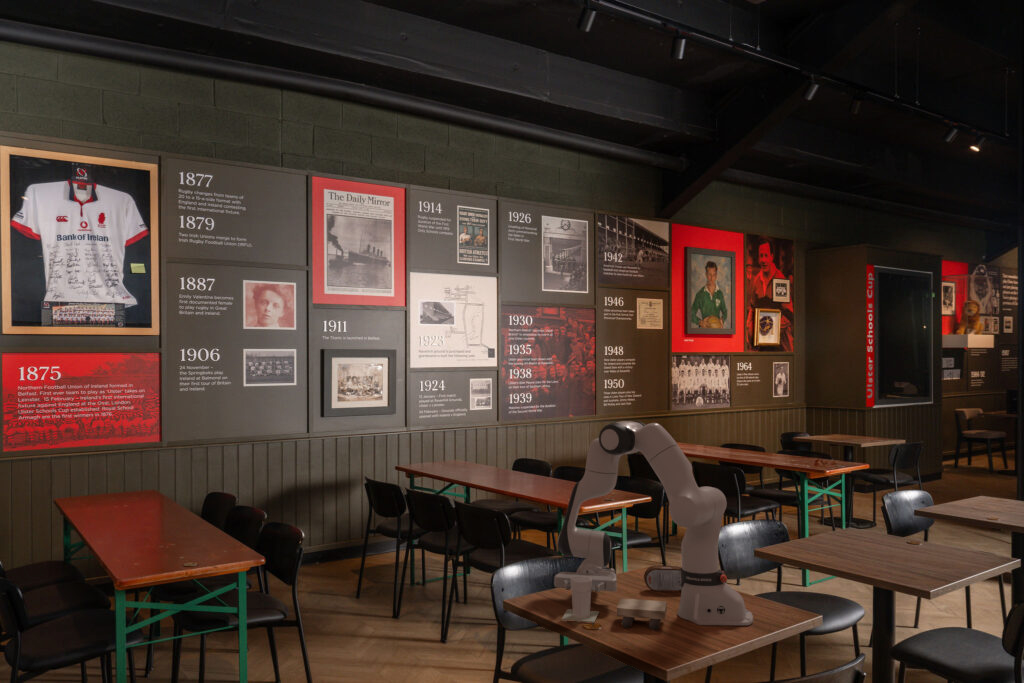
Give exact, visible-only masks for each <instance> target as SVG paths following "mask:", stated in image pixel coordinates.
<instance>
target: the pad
mask: <svg viewBox="0 0 1024 683" xmlns="http://www.w3.org/2000/svg"><path fill="white" fill-rule="evenodd" d="M598 614H599V615H600V611H598V610H597V611H596V610H590V616H589V617H586V618H578V617H575V616H573V608H572V609H571V608H570V609H569V608H567V609H566V611H565V612H564V614H563V616H562V618H561V620H562V619H563V620H574V621H582V622H592V623H591V624H593V623H594V622H595V623H596V621H597V619H596V618H598V617H599V615H598ZM597 616H598V617H597ZM595 620H596V621H595ZM595 623H594V624H595Z"/></svg>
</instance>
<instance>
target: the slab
mask: <svg viewBox="0 0 1024 683" xmlns="http://www.w3.org/2000/svg"><path fill="white" fill-rule="evenodd" d="M667 604H668V602H667V601H664V600H651V599H649V600H648V599H635V598H623V597H622V598H620V599H619V602H618V604H617V607H616V617H621V618H622V620H621V625H622V628H625V629H630V628H631V627H632V625H633V622H634V620H635V618H637V619H638V618H639V619H649V623H648V625H649V626H648V627H649V628H650V630H652V631H658V630H659V629H660V625H661V620H663V621H664V620H666V615H667V610H668V607H667Z"/></svg>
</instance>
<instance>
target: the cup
mask: <svg viewBox="0 0 1024 683" xmlns="http://www.w3.org/2000/svg"><path fill="white" fill-rule="evenodd" d="M570 582H571V589H570V591H571V602H572V603H571V604H572V610H573V616H575V617H578V618H586V617H589V616H590V611H591V597H592V591H591V586H592V579H591V578H589V577H583V576H577V577H572V578H571V579H570Z"/></svg>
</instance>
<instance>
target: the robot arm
mask: <svg viewBox="0 0 1024 683" xmlns="http://www.w3.org/2000/svg"><path fill="white" fill-rule="evenodd" d="M635 453H641V454H642V455H643V456H644V458H645V459H646V461H647V462H648V464H649V466H650V467H651V468H652V470H653V472H654V473H655V475H656V476H657V477H658V479H659V481H660V482H661V485H662V486H663V489H664V491H665V493H666V497H667V500H668V504H669V506H668V511H669V516H670V518H671V520H672V521H673V522H674V524H675V525H678V526H679V527H682V528H686V531H685V533H684V536H683V538H682V541H681V544H680V545H681V546H680V548H681V572H680V584H681V587H682V589H681V591H680V600H679V606H678V609H677V616H679V617H680V618H682V619H684V620H686V621H689V622H692V623H694V624H696V625H698V626H699V625H700V626H750V625H751V624H753V622H754V616H753V612H751V611H750V610H749V609H746V605H745V600H744V598H743V596H742V595H741V594H740V593H739V592H738V591H737V590H735V589H734V588H733V587H731V586H730V585H729V584H728V583H726V582H727V581H728V577H727V575H726V573H725V571H724V570H721V569H719V541H720V534H721V528H722V524H723V523H722V522H723V518H724V514H725V511H726V510H727V504H728V502H727V498H726V495H725V494H724V493H723V491H722V490H720V489H719V488H717V487H712V486H700V487H699V486H698V484H697V482H696V479H695V477H694V474H693V466H692V464H691V462H690V460H689V459H688V458H687V455H685V454H684V452H683V450H682V449H681V447H680V446H679V445H678V443H677V441H676V440H675V439H674V438H673V437H672V435H671V434H670V433H669V432H668V431H667V430H666V429H665V427H663V426H662V425H661V424H659V423H657V422H651V423H647V424H645V423H643V422H642V421H638V420H631V421H630V420H629V421H628V420H622V421H617V422H610V423H609V424H606V425H605V426H604V427H602V429H600V432H599V434H598V437H597V438H594V439H593V440H592V441H591V442H590V444H589V449H588V452H587V454H586V455H587V456H586V461H585V471H584V475H583V476H582V478H581V479H580V480H579V481H577V482H576V483H575V484H574V486H573V488H572V491H571V494H570V497H569V501H568V504H567V508H566V512H565V516H564V520H563V524H562V526H561V530H560V532H559V534H558V537H557V543H556V546H557V550H559V552H560V553H561V555H563V556H564V557H569V558H581V559H584V560H582V562H581V564H580V565H579V567H578V568H577V570H576V571H575V572H574V571H560V572H558V573H557V574H555V575H554V581H553V582H554V583H553V585H554V587H555V588H557V589H565V590H566V591H571V582H570V579H571V578H572V577H577V576H583V577H589V578H591V579H592V586H591V592H596V593H597V592H598V593H599V592H601V591H602V592H603V591H604V592H617V590H618V588H617V587H618V582H617V580H618V579H617V574H616V571H615V569H614V568H612V567H608V565H609V564H610V562H611V560H612V555H613V542H612V539H611V538H610V536H609V534H608V533H607V532H606V531H600V530H594V529H592V530H591V529H586V528H585V529H584V528H580V527H579V528H578V527H577V526H576V523H577V519H578V516H579V512H580V508H581V506H582V504H583V503H584V502H586V501H588V500H593V499H598V498H601V497H604V496H606V495H608V494H609V493H611V492H612V491H613V490H614V489H615V487H616V485H617V481H618V471H619V462H620V458H621V457H622V456H623V455H633V454H635Z"/></svg>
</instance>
